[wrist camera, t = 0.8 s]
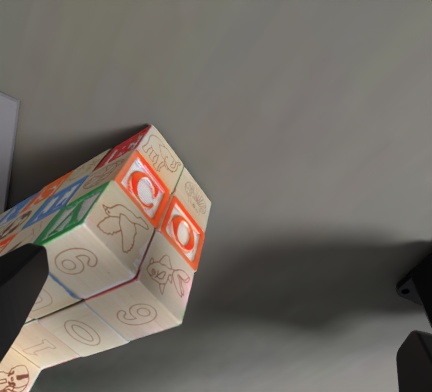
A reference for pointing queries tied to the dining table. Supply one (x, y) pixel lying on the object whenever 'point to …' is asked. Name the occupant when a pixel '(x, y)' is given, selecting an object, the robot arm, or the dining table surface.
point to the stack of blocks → (106, 254)
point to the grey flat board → (7, 143)
